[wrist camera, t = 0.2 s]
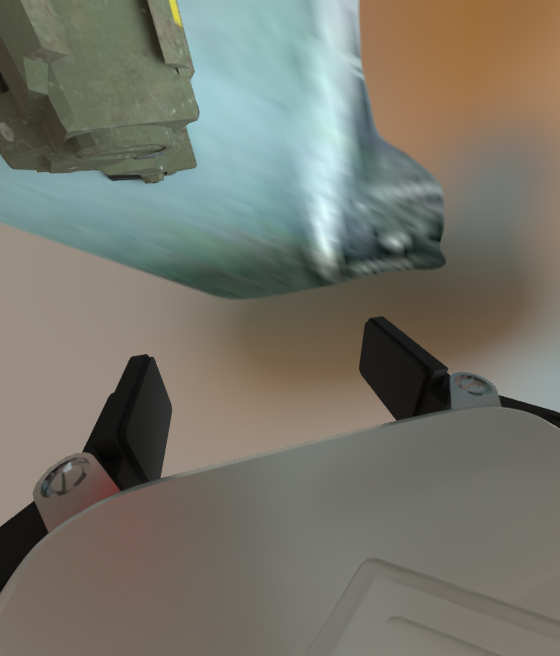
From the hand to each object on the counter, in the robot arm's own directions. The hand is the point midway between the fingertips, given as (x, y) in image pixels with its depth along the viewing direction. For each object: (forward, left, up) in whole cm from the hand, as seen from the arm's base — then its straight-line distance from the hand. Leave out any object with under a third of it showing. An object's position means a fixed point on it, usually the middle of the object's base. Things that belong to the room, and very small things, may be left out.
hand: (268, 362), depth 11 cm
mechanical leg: (-11, -8, -31) cm, 34 cm away
